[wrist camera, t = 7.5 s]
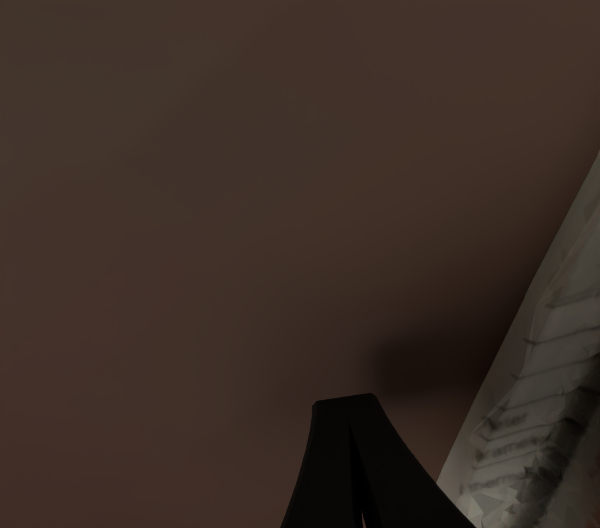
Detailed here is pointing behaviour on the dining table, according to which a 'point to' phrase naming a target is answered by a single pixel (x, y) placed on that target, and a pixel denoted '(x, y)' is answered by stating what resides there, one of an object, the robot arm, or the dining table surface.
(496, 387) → the packaged product
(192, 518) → the dining table surface
